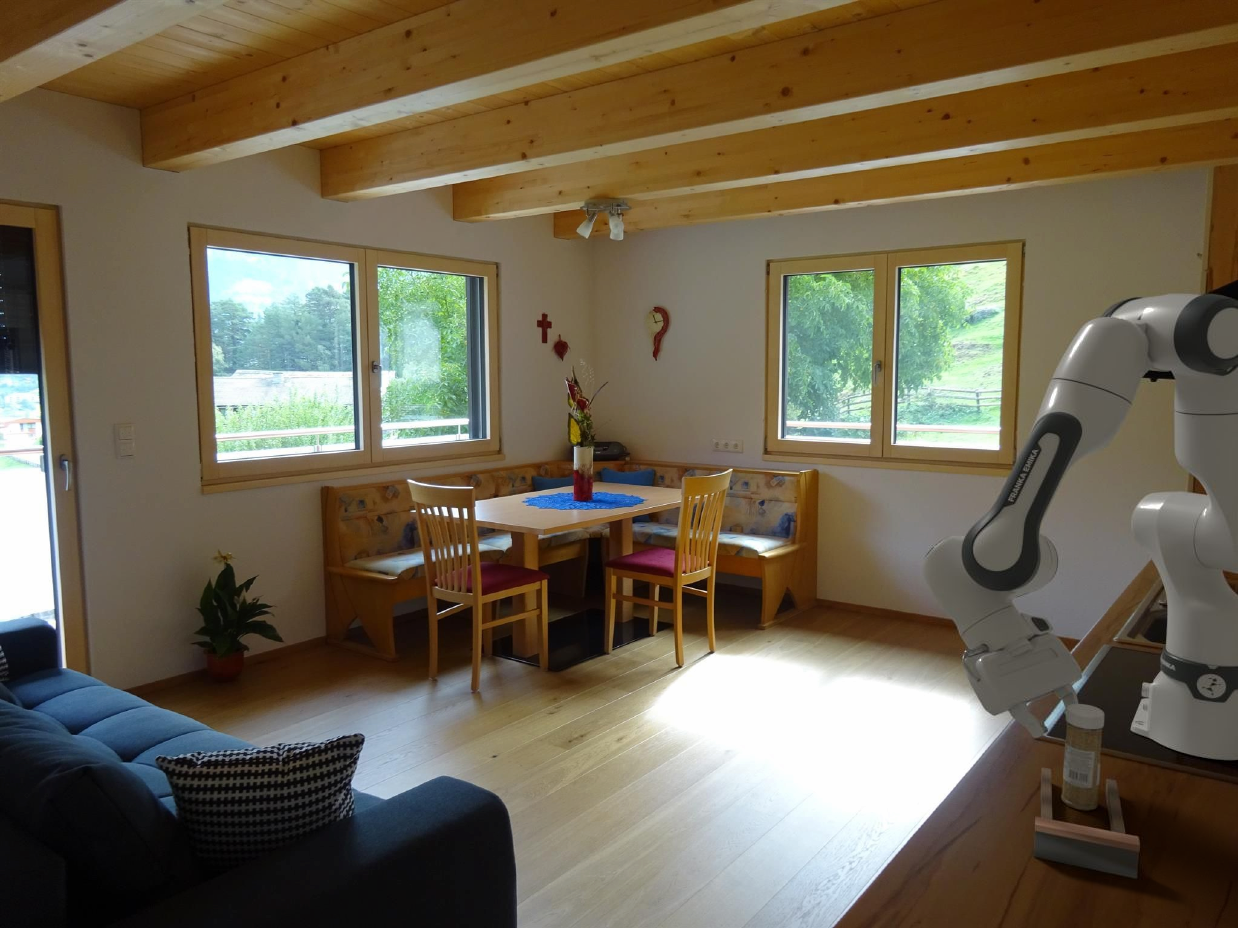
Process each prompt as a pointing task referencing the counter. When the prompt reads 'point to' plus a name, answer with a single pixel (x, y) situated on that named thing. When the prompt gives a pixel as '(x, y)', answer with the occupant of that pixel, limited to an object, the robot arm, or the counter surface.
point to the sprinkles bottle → (1082, 756)
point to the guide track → (1086, 837)
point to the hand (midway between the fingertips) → (1060, 726)
